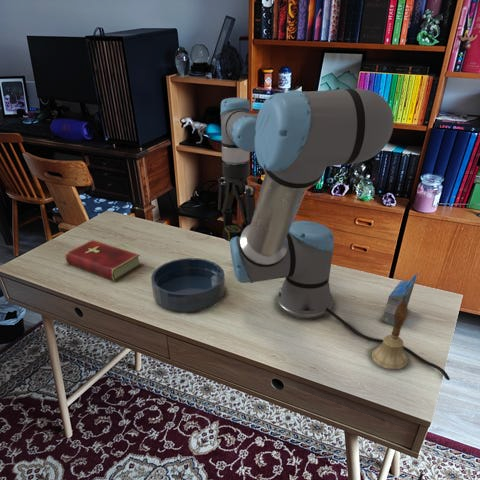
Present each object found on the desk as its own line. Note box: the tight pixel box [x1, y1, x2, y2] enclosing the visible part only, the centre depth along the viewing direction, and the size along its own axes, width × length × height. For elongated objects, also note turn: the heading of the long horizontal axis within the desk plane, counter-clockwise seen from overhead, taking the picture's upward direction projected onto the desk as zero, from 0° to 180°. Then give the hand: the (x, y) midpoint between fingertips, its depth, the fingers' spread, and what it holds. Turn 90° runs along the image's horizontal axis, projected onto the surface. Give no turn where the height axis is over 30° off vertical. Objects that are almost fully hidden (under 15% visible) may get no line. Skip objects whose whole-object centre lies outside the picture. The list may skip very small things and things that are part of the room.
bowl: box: [150, 257, 226, 313], centre depth 127 cm, size 21×21×6 cm
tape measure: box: [222, 223, 241, 243], centre depth 133 cm, size 7×7×4 cm
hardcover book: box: [64, 239, 142, 282], centre depth 142 cm, size 12×21×4 cm, turn 58°
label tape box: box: [382, 271, 418, 326], centre depth 116 cm, size 9×4×12 cm, turn 145°
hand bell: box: [371, 301, 409, 371], centre depth 100 cm, size 8×8×16 cm
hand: (236, 238), depth 134 cm, fingers closed on tape measure, 7 cm apart
